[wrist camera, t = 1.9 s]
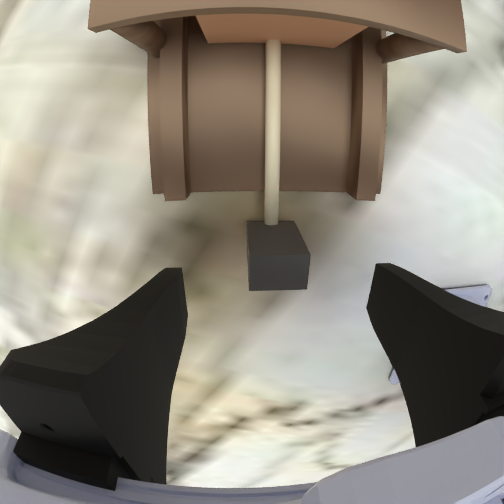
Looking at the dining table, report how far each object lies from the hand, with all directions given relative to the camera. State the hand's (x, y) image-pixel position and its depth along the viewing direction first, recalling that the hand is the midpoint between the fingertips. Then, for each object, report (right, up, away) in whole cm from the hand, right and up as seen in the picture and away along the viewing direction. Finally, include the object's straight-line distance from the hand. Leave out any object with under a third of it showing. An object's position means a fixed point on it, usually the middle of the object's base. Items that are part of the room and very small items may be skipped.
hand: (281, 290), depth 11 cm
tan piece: (0, +9, +2) cm, 9 cm away
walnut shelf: (0, +11, +2) cm, 11 cm away
